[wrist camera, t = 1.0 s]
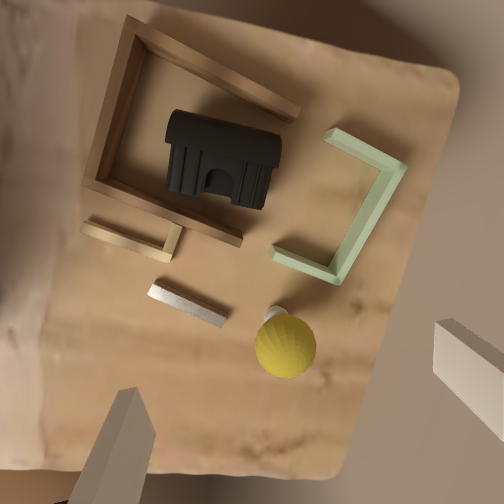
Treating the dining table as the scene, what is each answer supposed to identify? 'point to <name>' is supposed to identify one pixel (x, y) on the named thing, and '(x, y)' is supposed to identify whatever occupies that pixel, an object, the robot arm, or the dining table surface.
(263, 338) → the light bulb
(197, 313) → the grey metal bar
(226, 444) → the dining table surface
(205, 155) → the end cap
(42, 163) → the dining table surface
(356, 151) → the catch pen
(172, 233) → the beech crook
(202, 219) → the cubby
